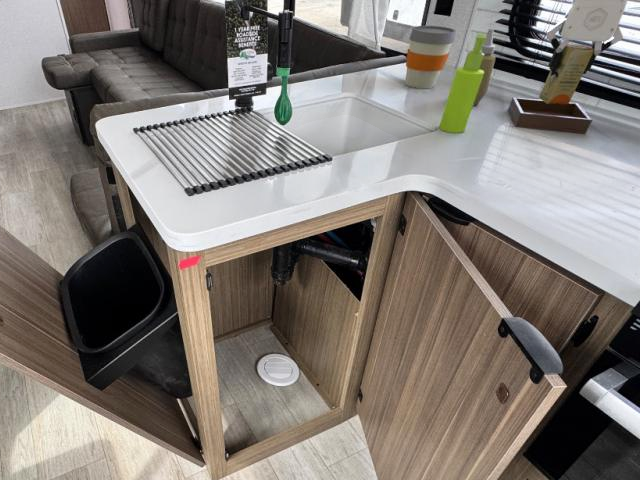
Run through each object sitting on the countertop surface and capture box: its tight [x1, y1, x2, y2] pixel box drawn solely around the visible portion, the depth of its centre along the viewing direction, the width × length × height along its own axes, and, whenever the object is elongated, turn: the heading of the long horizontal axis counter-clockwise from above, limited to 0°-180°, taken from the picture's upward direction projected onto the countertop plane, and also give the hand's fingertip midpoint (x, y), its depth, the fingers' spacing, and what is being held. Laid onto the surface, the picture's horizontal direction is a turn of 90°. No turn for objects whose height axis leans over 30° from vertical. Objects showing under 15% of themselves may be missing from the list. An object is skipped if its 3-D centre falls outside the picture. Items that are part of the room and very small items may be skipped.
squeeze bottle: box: [473, 28, 496, 106], centre depth 117 cm, size 8×8×18 cm
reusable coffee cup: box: [404, 25, 457, 89], centre depth 132 cm, size 13×13×15 cm
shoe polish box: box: [538, 43, 595, 104], centre depth 105 cm, size 5×5×12 cm
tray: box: [507, 96, 593, 135], centre depth 111 cm, size 16×14×3 cm
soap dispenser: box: [439, 33, 486, 134], centre depth 101 cm, size 6×7×20 cm
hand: (567, 70), depth 104 cm, fingers closed on shoe polish box, 5 cm apart
